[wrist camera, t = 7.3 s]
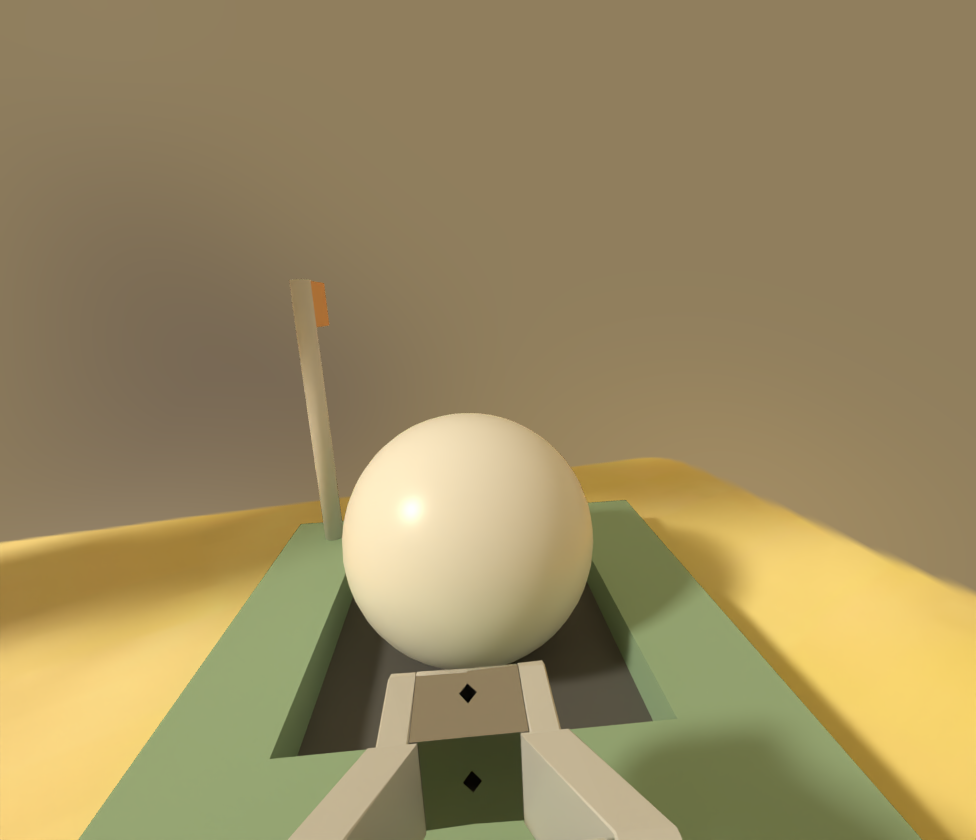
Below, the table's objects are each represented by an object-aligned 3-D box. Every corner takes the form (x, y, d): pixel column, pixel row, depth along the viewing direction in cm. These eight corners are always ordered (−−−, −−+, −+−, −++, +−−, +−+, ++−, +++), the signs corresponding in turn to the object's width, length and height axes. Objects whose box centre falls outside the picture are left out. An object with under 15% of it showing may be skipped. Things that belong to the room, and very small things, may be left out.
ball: (250, 465, 16) (326, 608, 23) (470, 662, 11) (486, 773, 18) (454, 338, 22) (468, 483, 28) (663, 432, 17) (620, 582, 23)
